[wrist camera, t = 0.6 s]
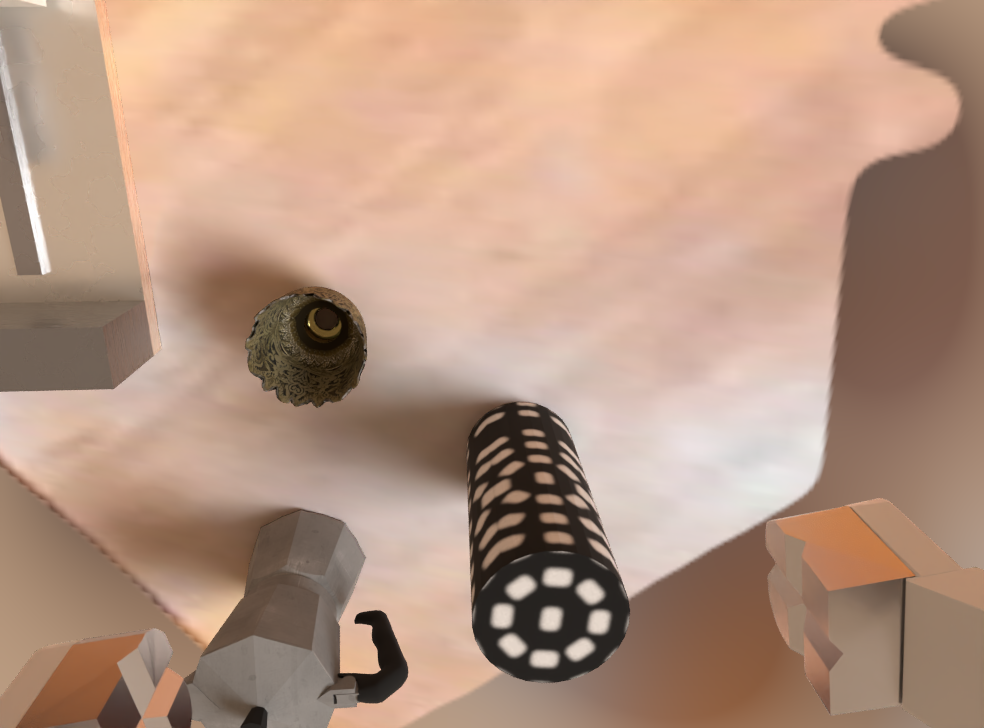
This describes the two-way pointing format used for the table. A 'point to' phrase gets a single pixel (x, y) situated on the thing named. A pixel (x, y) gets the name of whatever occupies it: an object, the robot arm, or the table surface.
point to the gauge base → (68, 207)
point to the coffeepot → (293, 635)
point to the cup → (308, 347)
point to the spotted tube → (538, 551)
